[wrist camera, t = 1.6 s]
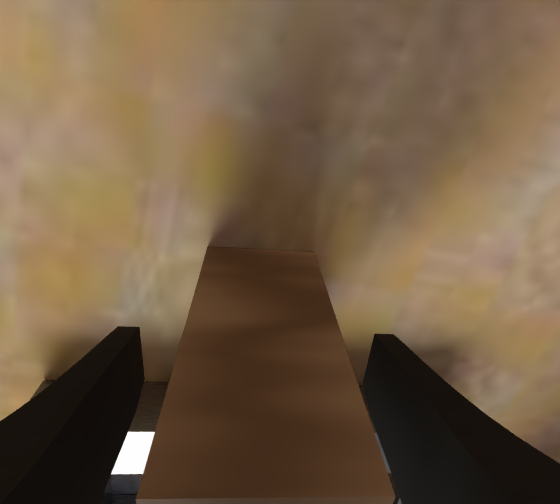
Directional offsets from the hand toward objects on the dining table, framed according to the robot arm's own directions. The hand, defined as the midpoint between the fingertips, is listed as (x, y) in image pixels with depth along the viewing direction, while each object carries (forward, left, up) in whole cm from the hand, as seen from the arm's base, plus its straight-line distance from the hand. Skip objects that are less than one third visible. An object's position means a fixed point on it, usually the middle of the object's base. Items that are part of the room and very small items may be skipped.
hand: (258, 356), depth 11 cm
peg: (0, 0, -4) cm, 4 cm away
